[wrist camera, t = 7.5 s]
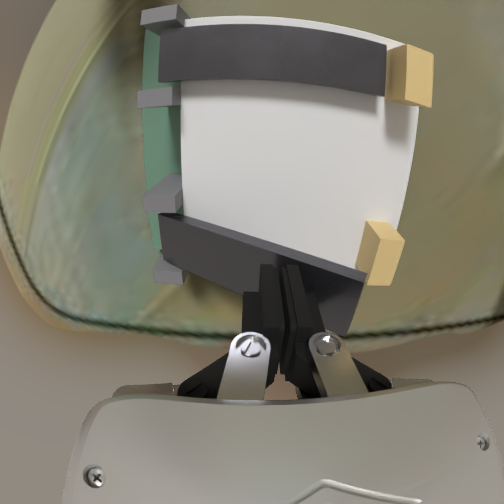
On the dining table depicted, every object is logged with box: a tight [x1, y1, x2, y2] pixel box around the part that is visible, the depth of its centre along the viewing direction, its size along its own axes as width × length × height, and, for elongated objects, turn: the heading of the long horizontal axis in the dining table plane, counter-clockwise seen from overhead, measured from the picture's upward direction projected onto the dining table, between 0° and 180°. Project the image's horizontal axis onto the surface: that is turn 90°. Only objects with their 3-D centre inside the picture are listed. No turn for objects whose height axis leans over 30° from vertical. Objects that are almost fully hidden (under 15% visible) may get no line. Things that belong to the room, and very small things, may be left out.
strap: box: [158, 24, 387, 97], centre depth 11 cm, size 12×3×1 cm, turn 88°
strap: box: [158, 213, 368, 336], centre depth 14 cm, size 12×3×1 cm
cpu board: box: [137, 4, 433, 285], centre depth 15 cm, size 20×18×7 cm
